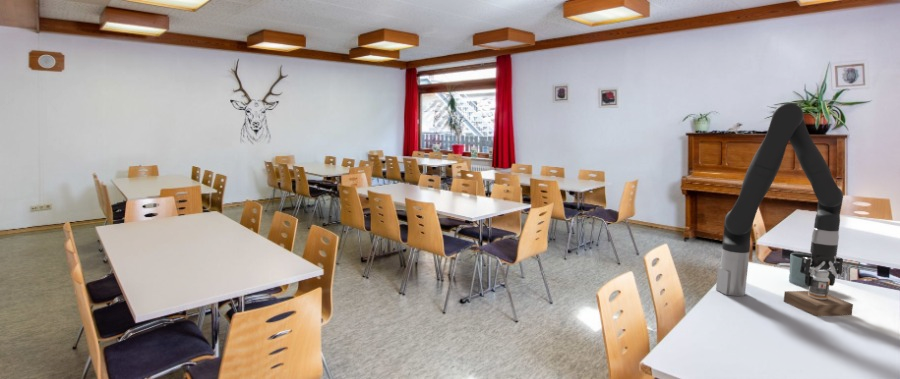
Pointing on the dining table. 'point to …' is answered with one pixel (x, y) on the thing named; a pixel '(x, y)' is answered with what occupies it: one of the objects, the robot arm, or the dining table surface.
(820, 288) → the pill bottle
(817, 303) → the walnut base
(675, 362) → the dining table surface
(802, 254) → the green plant pot
